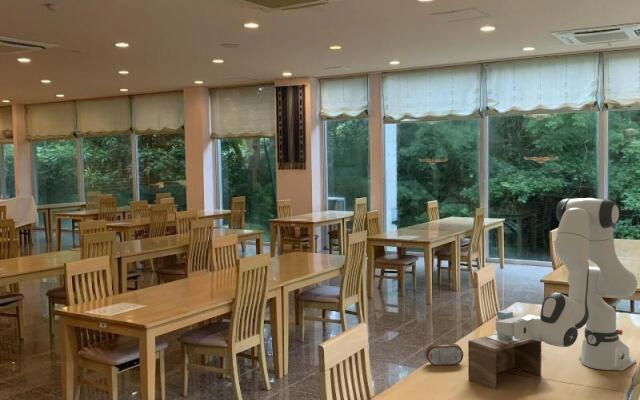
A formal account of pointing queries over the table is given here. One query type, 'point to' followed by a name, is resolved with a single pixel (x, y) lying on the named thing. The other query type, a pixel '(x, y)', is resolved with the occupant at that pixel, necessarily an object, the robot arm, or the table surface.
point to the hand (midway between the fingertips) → (503, 319)
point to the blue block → (503, 319)
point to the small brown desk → (501, 357)
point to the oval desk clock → (444, 354)
